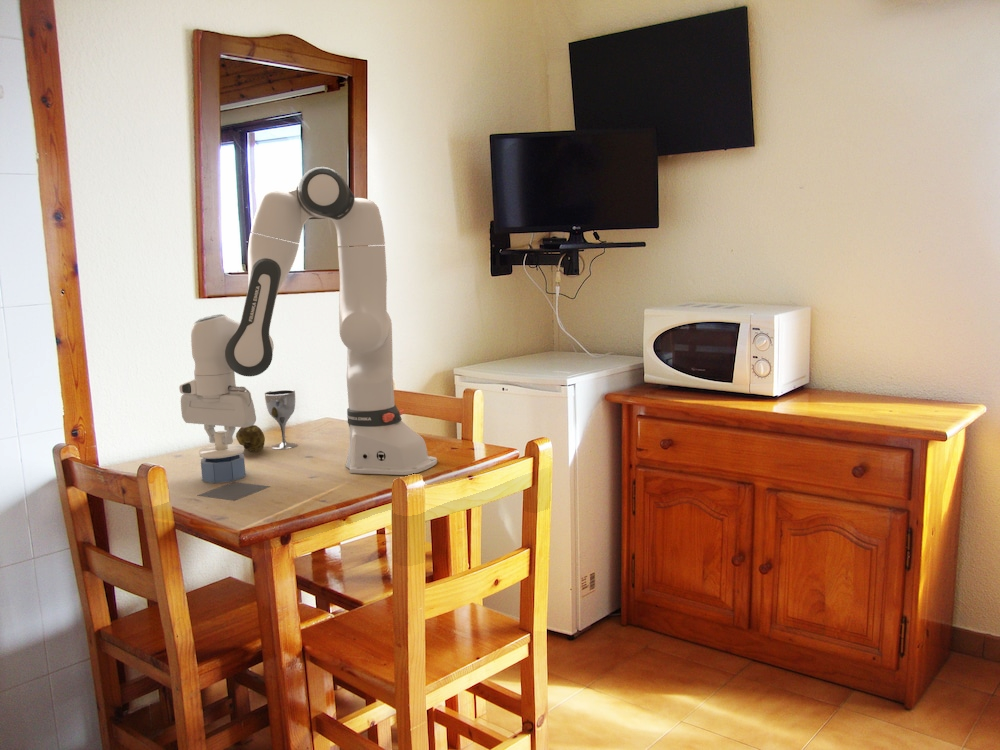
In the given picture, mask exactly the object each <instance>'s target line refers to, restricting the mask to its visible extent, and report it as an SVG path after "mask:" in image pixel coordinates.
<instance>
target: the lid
mask: <svg viewBox="0 0 1000 750" xmlns="http://www.w3.org/2000/svg"><path fill="white" fill-rule="evenodd" d="M226 431H227V430H220V431H215V432H214V440H215V443H214V445H211V446H207V447H204V448H202V449H200V450H199V452H198V453H199V457H200V458H201V459H203V458H207V459H216V458H226V457H231V456H236V455H239V454H244V453H245V448H244V446H243V445H240V444H239V443H238V444H237V443H232V444H229V445H226V444H223V440H222V437H225V434H226Z"/></svg>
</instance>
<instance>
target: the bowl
mask: <svg viewBox="0 0 1000 750" xmlns="http://www.w3.org/2000/svg"><path fill="white" fill-rule="evenodd" d="M245 463H246V462H245V454H244V453H241V454H239V455H236V456H231V457H226V458H216V459H207V458H201V459H200V467H201V468H200V469H201V480H202V481H203V482H205V483H209V484H219V483H220V484H221V483H229V482H230V483H231V482H236V481H237V480H240V479H243V478H245V477H246V474H247V473H246V464H245Z"/></svg>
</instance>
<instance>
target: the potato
mask: <svg viewBox="0 0 1000 750" xmlns="http://www.w3.org/2000/svg"><path fill="white" fill-rule="evenodd" d="M235 438H236V440H237V442H238V444H240V445H243V446H244V450H246V451H249V452H259V451H261V450H262V449H263V448H264V446H265V442H266V441H265V440H266V437H265V434H264V432H263V431H262V429H261V428H260V427H259V426H258V425H255V424H254V425H252V426H249V427H239V429H238V430H237V431H236V433H235Z"/></svg>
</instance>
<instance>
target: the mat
mask: <svg viewBox="0 0 1000 750" xmlns="http://www.w3.org/2000/svg"><path fill="white" fill-rule="evenodd" d="M270 487H271V486H270V485H264V484H263V485H262V484H256V483H255V484H254V483H246V482H238V481H237V482H236V481H231V482H230V483H227V484H224V485H222V486H220V487H216V488H214V489H210V490H208V491H205V492H203V493H202V492H201V493H200V494H197V497H204V498H213V499H219V500H226V501H234V502H235V501H238V500H239V499H242V498H245V497H248V496H250V495H253V494H255V493H257V492H260V491H263V490H266V489H268V488H270Z"/></svg>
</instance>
